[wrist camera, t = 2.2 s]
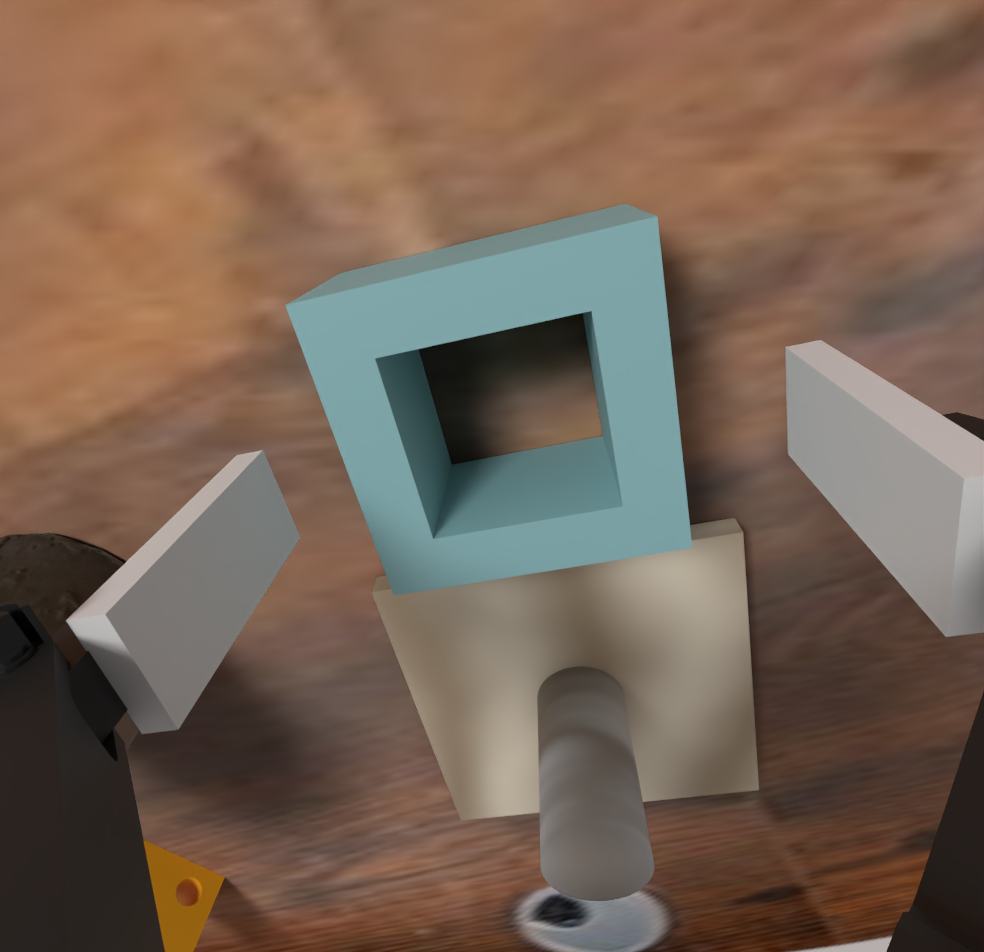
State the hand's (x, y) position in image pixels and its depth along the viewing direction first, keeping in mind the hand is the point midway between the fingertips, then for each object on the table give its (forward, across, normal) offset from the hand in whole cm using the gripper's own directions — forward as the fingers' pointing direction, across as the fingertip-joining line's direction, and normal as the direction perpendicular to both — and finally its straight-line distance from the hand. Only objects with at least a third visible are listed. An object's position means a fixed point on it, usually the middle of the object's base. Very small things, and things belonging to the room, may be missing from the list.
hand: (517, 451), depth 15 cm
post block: (+6, 0, -14) cm, 15 cm away
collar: (+6, 0, 0) cm, 6 cm away
